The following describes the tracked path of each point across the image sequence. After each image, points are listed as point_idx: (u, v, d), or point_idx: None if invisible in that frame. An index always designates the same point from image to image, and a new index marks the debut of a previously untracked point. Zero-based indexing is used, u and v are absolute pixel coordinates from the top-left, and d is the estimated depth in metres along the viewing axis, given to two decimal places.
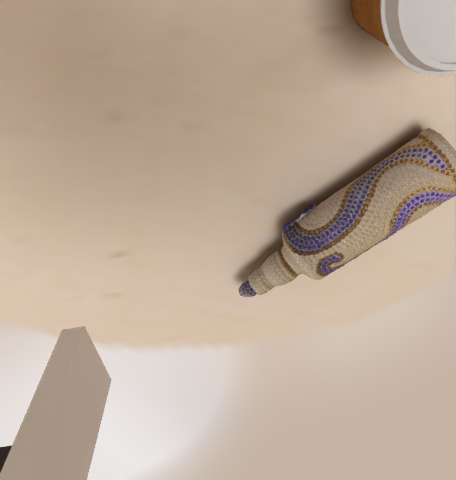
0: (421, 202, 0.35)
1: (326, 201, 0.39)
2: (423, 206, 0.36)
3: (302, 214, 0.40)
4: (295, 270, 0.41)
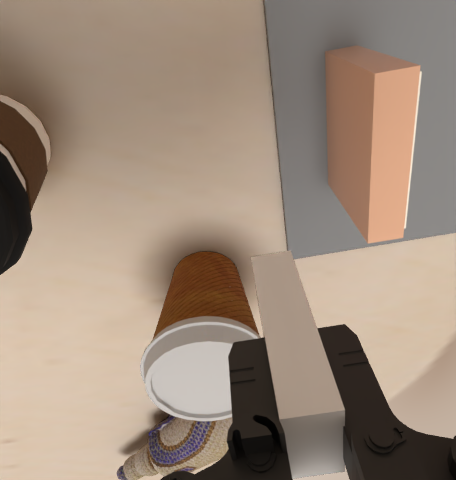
0: None
1: None
2: None
3: (163, 424, 0.45)
4: None
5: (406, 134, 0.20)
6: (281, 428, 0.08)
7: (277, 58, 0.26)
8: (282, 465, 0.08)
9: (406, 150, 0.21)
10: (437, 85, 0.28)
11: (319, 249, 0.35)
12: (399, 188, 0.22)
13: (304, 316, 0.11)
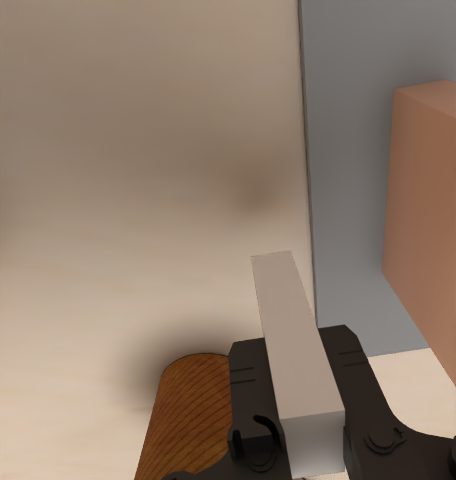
0: None
1: None
2: None
3: None
4: None
5: None
6: (281, 428, 0.08)
7: (317, 100, 0.17)
8: (282, 465, 0.08)
9: None
10: None
11: None
12: None
13: (305, 315, 0.11)
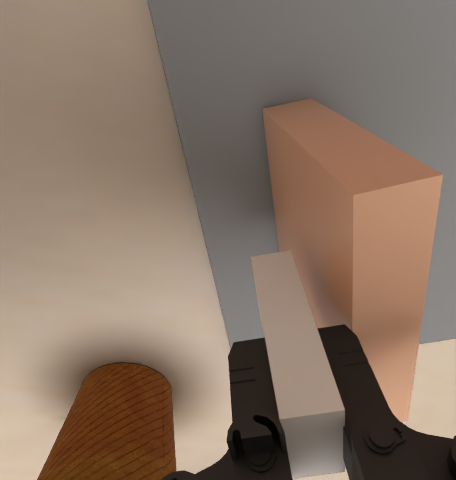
0: None
1: None
2: None
3: None
4: None
5: (414, 287, 0.11)
6: (281, 428, 0.08)
7: (186, 119, 0.17)
8: (282, 465, 0.08)
9: (413, 310, 0.11)
10: (438, 153, 0.18)
11: None
12: (401, 362, 0.12)
13: (304, 316, 0.11)
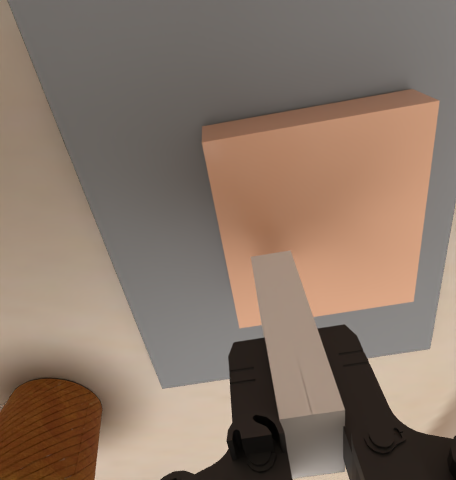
0: None
1: None
2: None
3: None
4: None
5: None
6: (281, 428, 0.08)
7: (76, 145, 0.17)
8: (282, 465, 0.08)
9: None
10: None
11: (201, 376, 0.26)
12: None
13: (304, 316, 0.11)
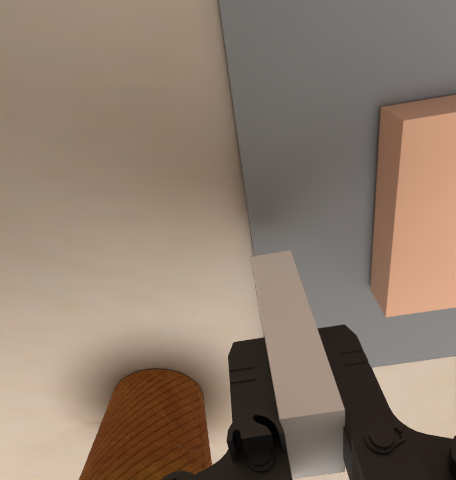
0: None
1: None
2: None
3: None
4: None
5: None
6: (281, 428, 0.08)
7: (247, 125, 0.17)
8: (282, 465, 0.08)
9: None
10: None
11: None
12: None
13: (305, 315, 0.11)
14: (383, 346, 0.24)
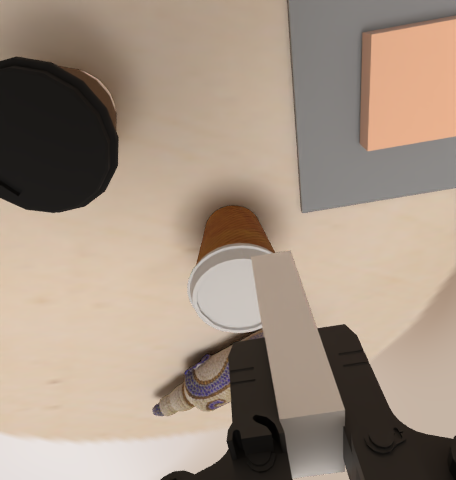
0: None
1: (216, 357, 0.52)
2: None
3: (198, 364, 0.52)
4: (192, 404, 0.53)
5: None
6: (281, 428, 0.08)
7: (296, 43, 0.34)
8: (282, 465, 0.08)
9: None
10: None
11: (327, 204, 0.42)
12: None
13: (305, 316, 0.11)
14: (368, 187, 0.42)
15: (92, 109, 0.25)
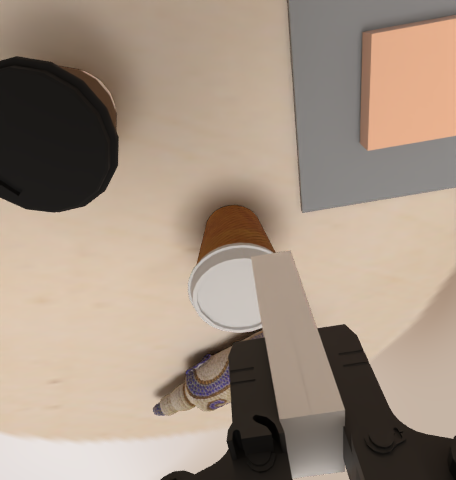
0: None
1: (217, 357, 0.52)
2: None
3: (199, 364, 0.52)
4: (193, 404, 0.53)
5: None
6: (281, 428, 0.08)
7: (296, 42, 0.34)
8: (282, 465, 0.08)
9: None
10: None
11: (327, 203, 0.42)
12: None
13: (305, 316, 0.11)
14: (368, 186, 0.42)
15: (92, 109, 0.25)
